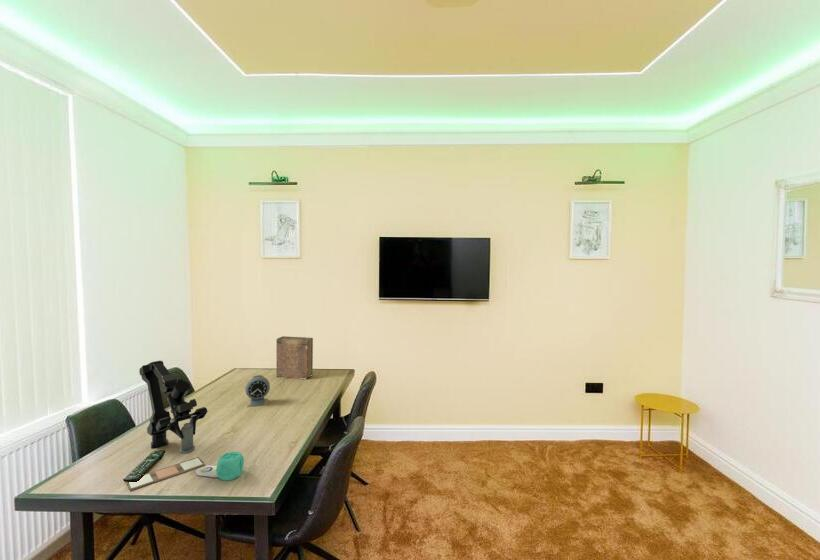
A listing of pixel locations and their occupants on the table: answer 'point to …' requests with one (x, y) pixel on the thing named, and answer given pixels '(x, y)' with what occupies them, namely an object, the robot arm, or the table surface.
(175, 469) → the game board
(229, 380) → the table surface
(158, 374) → the robot arm
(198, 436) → the table surface
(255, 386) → the alarm clock
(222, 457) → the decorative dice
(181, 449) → the pawn
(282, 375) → the book
